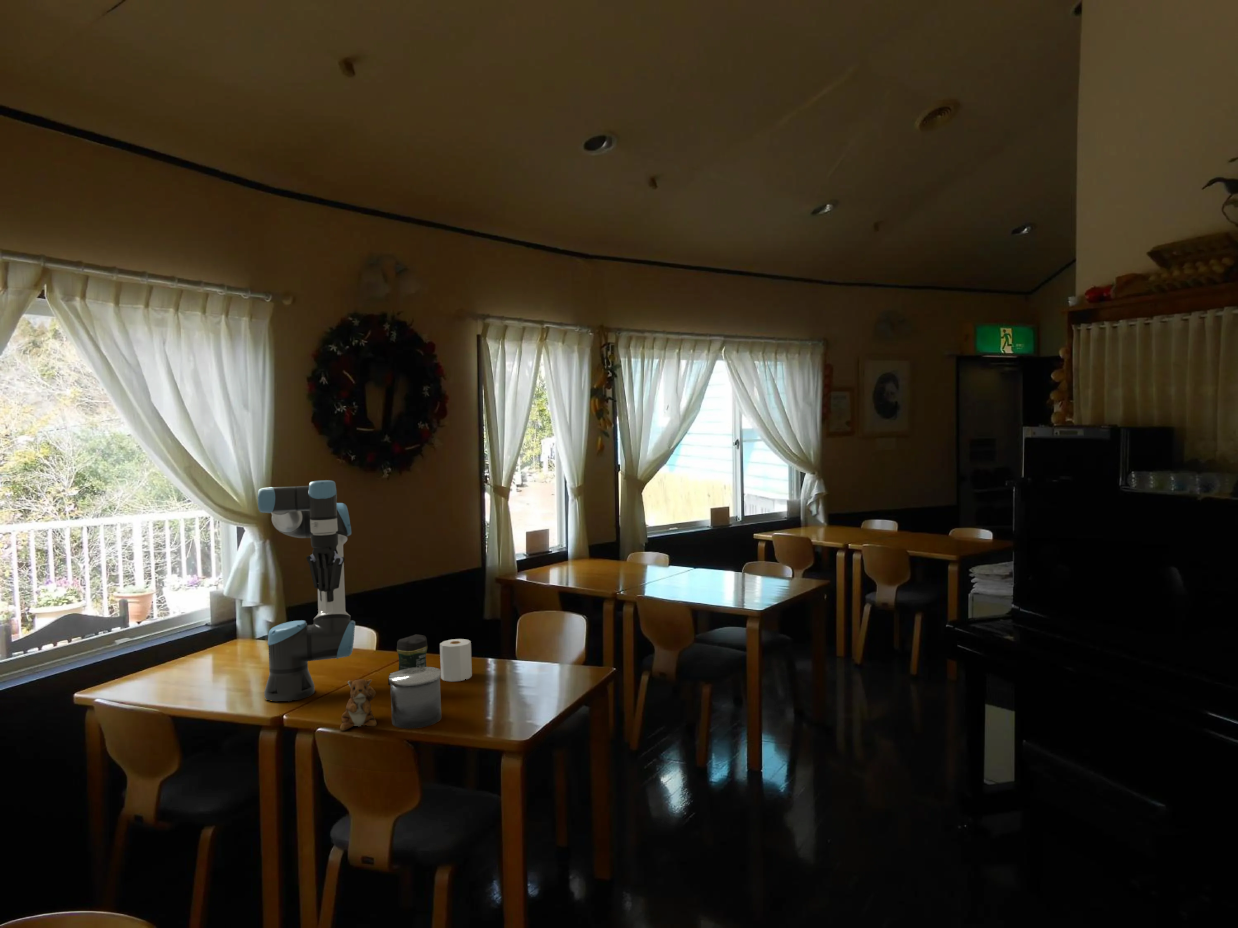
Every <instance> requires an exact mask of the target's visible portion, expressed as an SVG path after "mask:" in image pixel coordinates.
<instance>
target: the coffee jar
mask: <svg viewBox="0 0 1238 928" xmlns="http://www.w3.org/2000/svg"><path fill="white" fill-rule="evenodd" d="M396 644H397V645H396V651H397V652H396V653H397V656H398V671H399V670H403V669H408V668H415V667H428V666H427V651H428V639H427V637H426V635H422V634H413V635H409V636H406V637H404V638H403V637H402V638H399V639H398V640H397V642H396Z"/></svg>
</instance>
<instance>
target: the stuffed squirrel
mask: <svg viewBox="0 0 1238 928" xmlns="http://www.w3.org/2000/svg"><path fill="white" fill-rule="evenodd" d="M371 682H372V678H370V679H367V680H366V679H362V678H361V679H360V678H359V679H355V680H350V679H349V680H348V681H347V684H348V686H349V688H350V698H349V699H348V701H347V703H346V707H345V711H344V712H343V713H342V715H341V724H340V727H339V730H340V731H343V732H344V731H347V730H349V729H351V728H352V727H353V726H358V727H362V726H361V725H363V726H365V725H367V726H366V727H376V726H377V724H378V723H377V720H376V718H375V716H374V714H373V711H372V704H371V701H372V700H373V699H374V698H375V696H376V694H377V693H376V692H377V691H376V690H374V688H373V687H372V685H371V686H370V684H371Z"/></svg>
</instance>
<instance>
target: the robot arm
mask: <svg viewBox="0 0 1238 928" xmlns="http://www.w3.org/2000/svg"><path fill="white" fill-rule="evenodd" d="M336 485H337V484H336V482H335V481H334V480H329V479H328V480H327V479H325V480H314V481H310V482H309V484H308V485H301V486H300V485H298V486H297V485H296V486H276V487H272V486H268V487H260V489H258V491H257V508H258V511H259V512H260V513H262V514H266V513H267V514H271V522H272V525H273V527H274V528H275V529H276V530H277V531H278V532H279V533H282V534H283V535H286V536H289V537H292V538H296V539H297V538H298V539H310V545H311V548H313V550H312V552H311V553H312V554H310V555H307V556H306V557H305V558H306V561H307V562H308V565H309V569H310V574H311V580H312V583H313V587H314V589H317V609H318V610H317V612H318V613H317V615H316V616H315V617H314V618H313V624H308V623H307V621H306V620H302V619H301V620H293V621H292V620H291V621H287V622H283V623H280V624H277V625H275V626H273V627H271V629H269V631H268V634H267V647H268V664H269V665H268V667H269V669H268V671H269V675H268V677H267V678H268V679H267V681H266V684H265V687H264V692H263V693H264V699H265V698H266V699H267V700H272V701H288V702H292V700H295V701H299V700H303V699H306V698H308V697H310V696H312V695H314V693H315V691H316V689H315V682H314V680H313V678H312V675H311V673H310V670H309V664H308V663H309V662H314V661H321V660H332V659H337V660H338V659H340V658H346V657H349V656H351V655H352V654H353V650H354V640H355V630H356V629H355V628H356V621H355V620H351V615H350V614H349V613H348V612H347V611H346V590H345V587H346V586H345V567H344V566H345V563H344V562H345V560H346V559H345V557H344V544H346V542H347V541H348V537H349V536H351V535H352V526H351V520H350V519H351V518H350V515H349V514H350V513H349V510H348V506H347V505H346V503H343V502H338V501H337V500H338V493H337V486H336ZM267 700H266V701H267Z"/></svg>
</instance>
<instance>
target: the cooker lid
mask: <svg viewBox="0 0 1238 928" xmlns="http://www.w3.org/2000/svg"><path fill="white" fill-rule="evenodd" d="M388 678H389V682H390V684H392V685H396V686H416V685H422V684H427V683H430V682H433V681H436V680H438V679H439V678H440V679H441V668H437V667H433V666H427V667H415V668H408V669H403V670H399V669H398V670H396V671H394V672H391V673H389V675H388Z"/></svg>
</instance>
